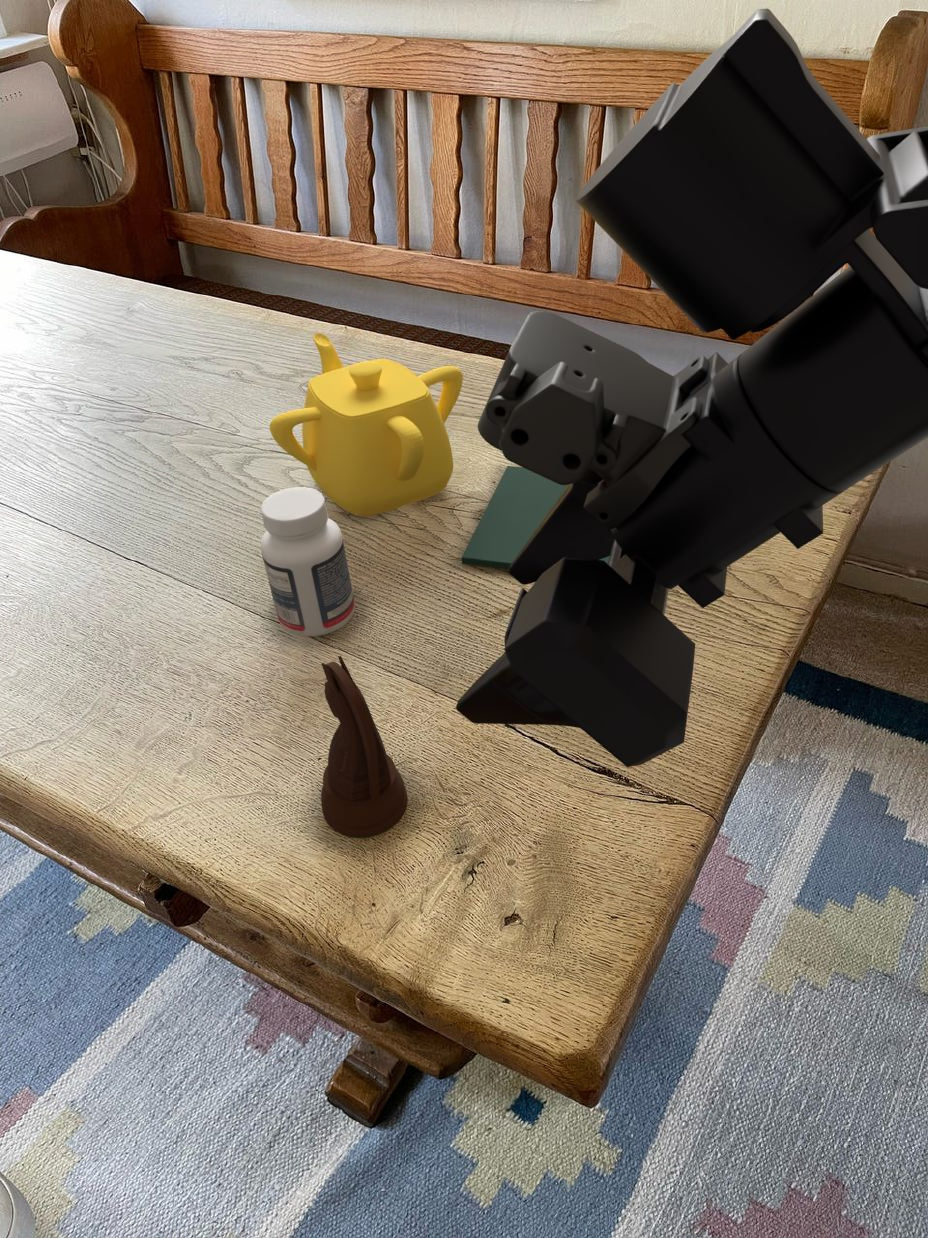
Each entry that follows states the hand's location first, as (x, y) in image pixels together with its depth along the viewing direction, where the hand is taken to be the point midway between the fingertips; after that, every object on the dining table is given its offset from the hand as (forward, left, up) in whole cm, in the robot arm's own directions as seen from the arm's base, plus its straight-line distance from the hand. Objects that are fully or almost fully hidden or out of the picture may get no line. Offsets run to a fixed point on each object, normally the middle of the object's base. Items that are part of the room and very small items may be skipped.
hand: (492, 639), depth 42 cm
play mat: (+3, -29, -13) cm, 32 cm away
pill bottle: (+17, -15, -13) cm, 26 cm away
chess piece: (+8, 0, -13) cm, 15 cm away
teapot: (+19, -32, -13) cm, 39 cm away
